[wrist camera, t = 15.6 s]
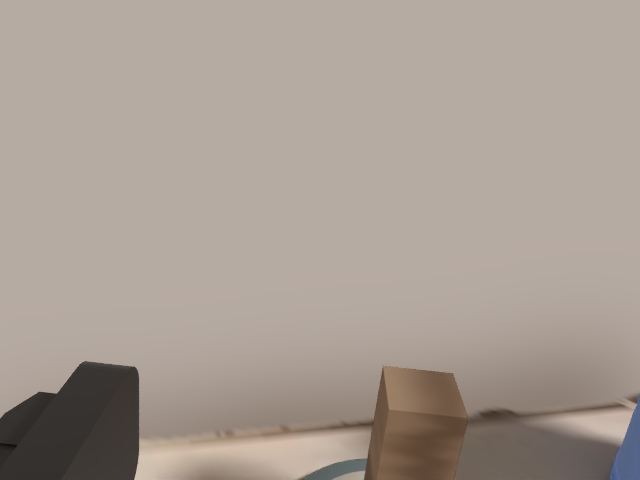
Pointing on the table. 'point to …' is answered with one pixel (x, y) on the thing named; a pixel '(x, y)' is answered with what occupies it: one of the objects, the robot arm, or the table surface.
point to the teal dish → (341, 471)
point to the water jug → (629, 451)
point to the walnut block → (416, 426)
